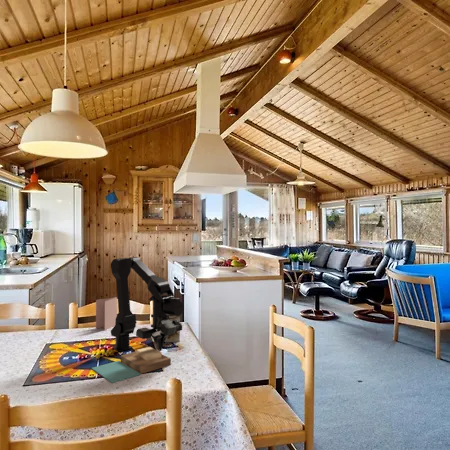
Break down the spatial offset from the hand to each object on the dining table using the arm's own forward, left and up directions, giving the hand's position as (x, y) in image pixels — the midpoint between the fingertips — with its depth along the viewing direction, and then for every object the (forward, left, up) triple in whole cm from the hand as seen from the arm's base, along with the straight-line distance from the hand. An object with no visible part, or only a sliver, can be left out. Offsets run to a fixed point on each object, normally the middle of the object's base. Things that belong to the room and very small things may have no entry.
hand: (159, 350), depth 151 cm
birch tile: (0, -5, -1) cm, 5 cm away
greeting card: (-57, +5, -4) cm, 57 cm away
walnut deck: (0, -7, -4) cm, 7 cm away
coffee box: (-18, +17, -4) cm, 25 cm away
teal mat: (0, -19, -4) cm, 19 cm away
